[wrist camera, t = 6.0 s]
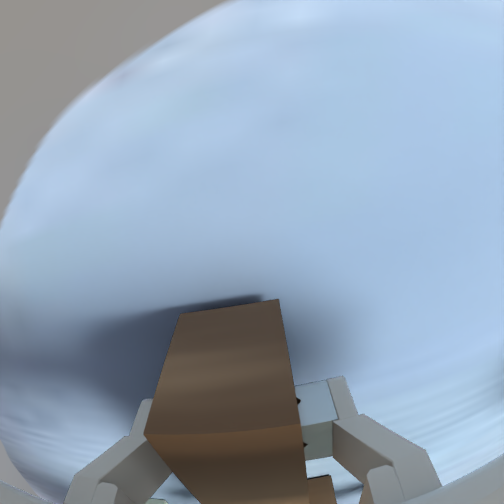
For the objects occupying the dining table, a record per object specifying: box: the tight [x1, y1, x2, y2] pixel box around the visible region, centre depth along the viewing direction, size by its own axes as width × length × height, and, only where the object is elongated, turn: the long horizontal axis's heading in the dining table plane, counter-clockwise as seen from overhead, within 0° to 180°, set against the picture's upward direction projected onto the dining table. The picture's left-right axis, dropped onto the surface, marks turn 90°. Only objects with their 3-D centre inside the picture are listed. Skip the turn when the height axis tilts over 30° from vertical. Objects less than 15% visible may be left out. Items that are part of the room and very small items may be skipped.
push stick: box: [143, 299, 337, 504], centre depth 9 cm, size 14×6×4 cm, turn 10°
